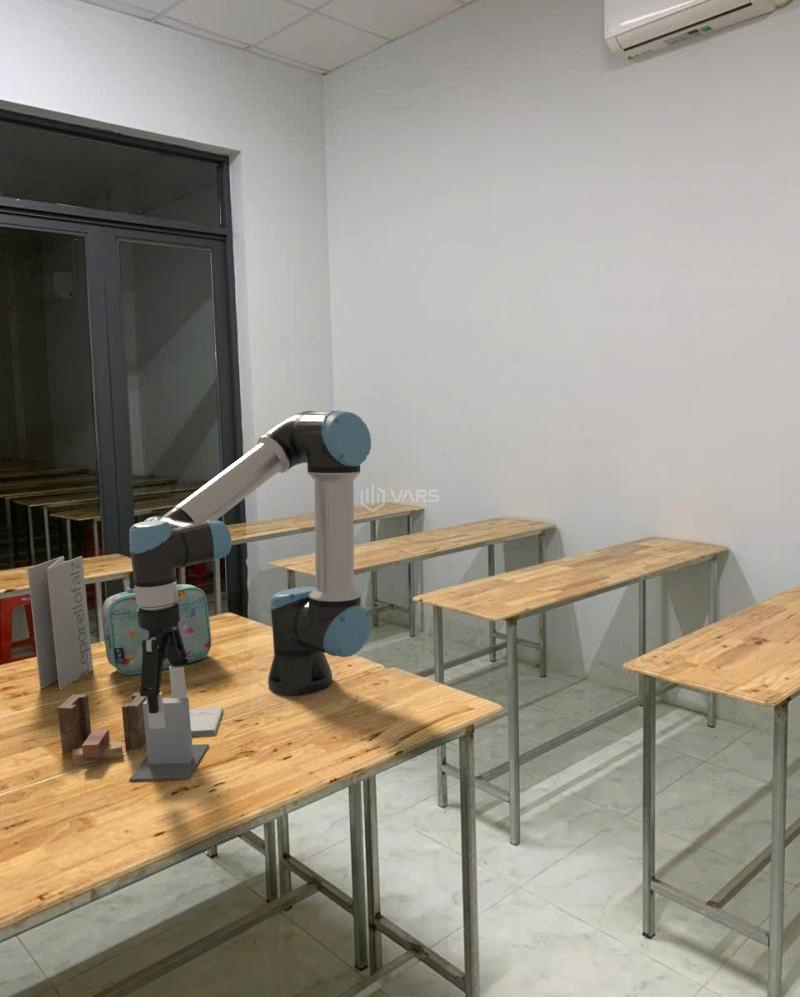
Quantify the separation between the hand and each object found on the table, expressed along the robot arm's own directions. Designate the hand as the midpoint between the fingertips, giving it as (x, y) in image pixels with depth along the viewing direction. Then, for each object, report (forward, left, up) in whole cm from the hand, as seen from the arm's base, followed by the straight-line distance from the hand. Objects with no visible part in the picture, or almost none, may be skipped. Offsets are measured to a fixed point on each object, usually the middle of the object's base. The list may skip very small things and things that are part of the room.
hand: (169, 712), depth 156 cm
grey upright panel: (0, 0, -10) cm, 10 cm away
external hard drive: (0, -18, -11) cm, 21 cm away
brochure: (+41, -48, -10) cm, 64 cm away
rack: (+16, -10, -10) cm, 21 cm away
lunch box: (+21, -56, -10) cm, 60 cm away
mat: (0, 0, -10) cm, 10 cm away
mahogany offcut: (+16, -2, -8) cm, 18 cm away
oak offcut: (+16, -3, -11) cm, 19 cm away
